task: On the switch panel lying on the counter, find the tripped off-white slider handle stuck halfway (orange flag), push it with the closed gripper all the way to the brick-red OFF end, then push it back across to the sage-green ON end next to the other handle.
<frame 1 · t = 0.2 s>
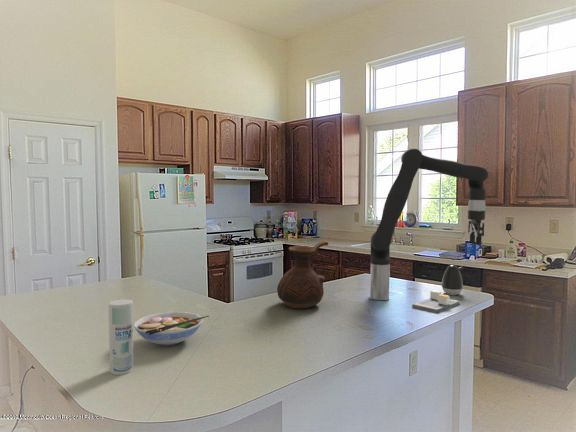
hand: (475, 243, 201), 28 cm above the counter, fingers open, 8 cm apart
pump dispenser: (452, 294, 219), on the counter
switch panel: (436, 305, 196), on the counter
spray can: (121, 370, 123), on the counter
tripped breaker: (443, 299, 193), point 4 cm above the counter, slide at 6.0 cm
jug: (300, 305, 195), on the counter
ramen bowl: (169, 342, 146), on the counter
on breaker: (435, 295, 202), point 3 cm above the counter, slide at 12.0 cm
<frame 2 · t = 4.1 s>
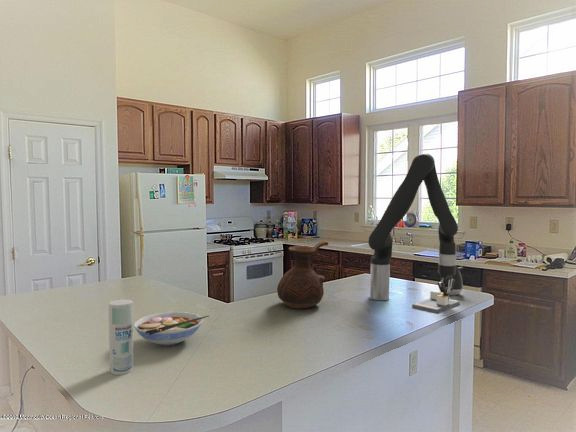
hand: (445, 301, 195), 2 cm above the counter, fingers closed
tripped breaker: (442, 300, 192), point 4 cm above the counter, slide at 4.6 cm, touching gripper
everything else where it was.
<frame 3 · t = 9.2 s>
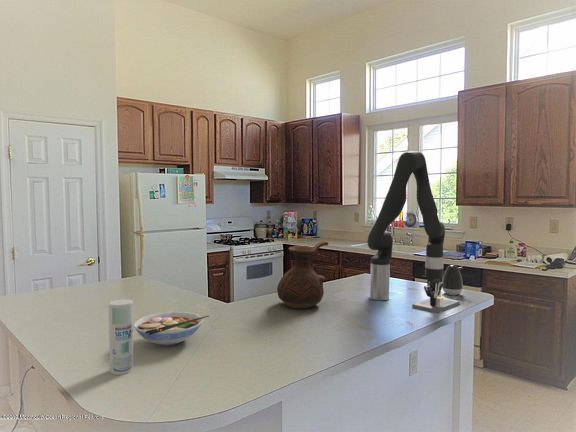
hand: (433, 305, 186), 2 cm above the counter, fingers closed
tripped breaker: (437, 301, 189), point 4 cm above the counter, slide at 0.0 cm, touching gripper
everything else where it was.
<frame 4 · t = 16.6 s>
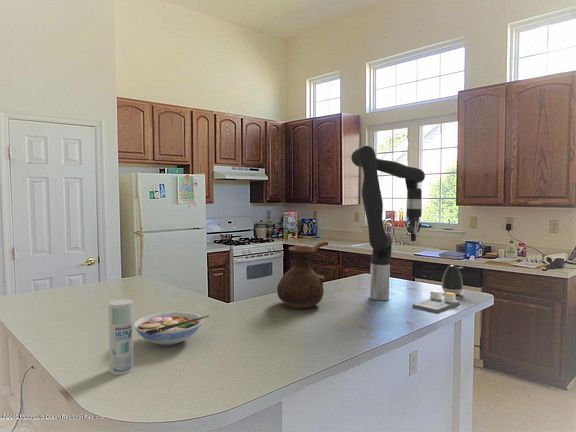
hand: (413, 241, 221), 27 cm above the counter, fingers closed
tripped breaker: (449, 297, 197), point 4 cm above the counter, slide at 12.0 cm
everything else where it was.
at the end: tripped breaker slide at 12.0 cm; on breaker slide at 12.0 cm; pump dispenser moved 0.2 cm from its start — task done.
